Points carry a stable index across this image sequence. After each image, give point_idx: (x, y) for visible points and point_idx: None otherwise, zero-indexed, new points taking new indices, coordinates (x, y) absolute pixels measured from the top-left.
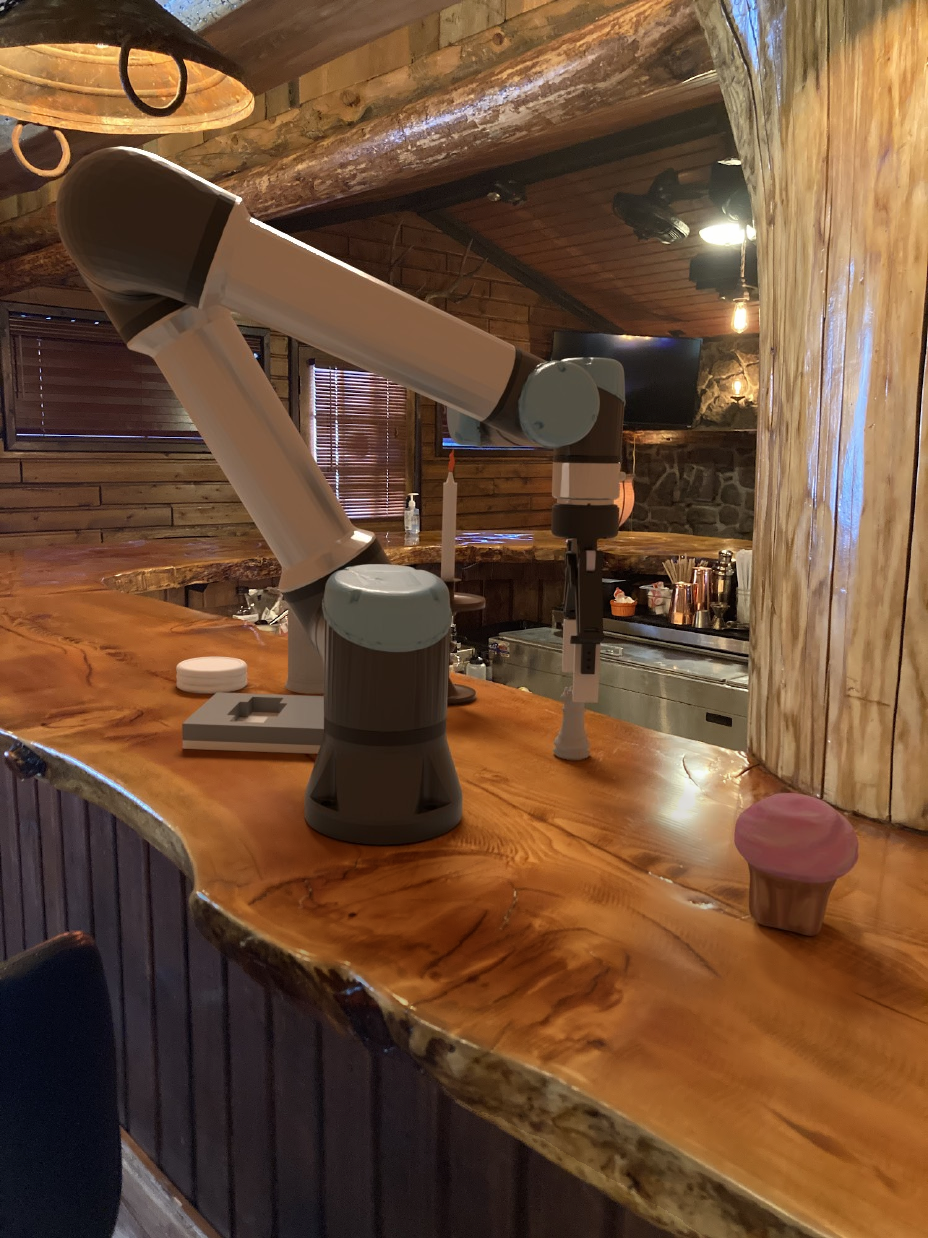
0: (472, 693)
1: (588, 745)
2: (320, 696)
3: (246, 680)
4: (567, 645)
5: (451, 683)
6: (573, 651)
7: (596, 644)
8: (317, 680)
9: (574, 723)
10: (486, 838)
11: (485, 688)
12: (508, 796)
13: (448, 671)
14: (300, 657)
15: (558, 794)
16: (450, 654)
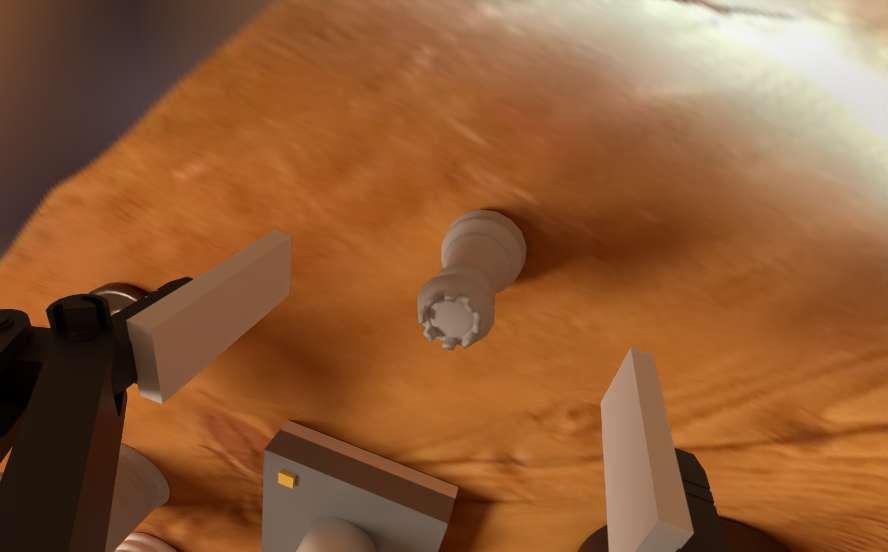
0: (130, 298)
1: (509, 232)
2: (262, 547)
3: (144, 540)
4: (235, 330)
5: None
6: (247, 300)
7: (682, 540)
8: (147, 497)
9: (495, 289)
10: (850, 530)
11: (63, 244)
12: (681, 436)
13: None
14: (119, 544)
15: (705, 362)
16: None
